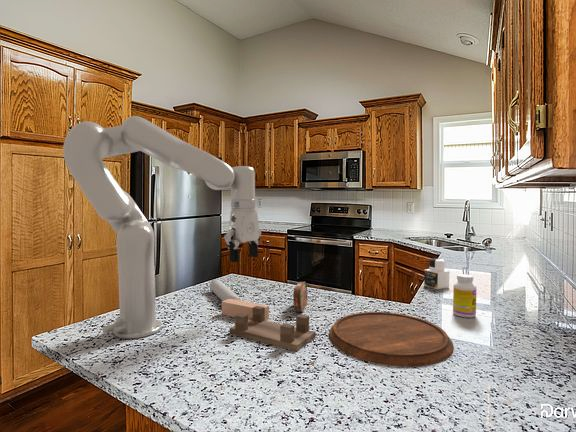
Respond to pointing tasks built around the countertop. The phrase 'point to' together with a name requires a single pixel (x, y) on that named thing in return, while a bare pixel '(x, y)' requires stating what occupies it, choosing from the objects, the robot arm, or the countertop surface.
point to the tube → (222, 290)
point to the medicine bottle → (436, 274)
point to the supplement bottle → (464, 296)
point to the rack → (273, 330)
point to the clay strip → (241, 308)
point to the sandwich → (300, 296)
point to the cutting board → (391, 339)
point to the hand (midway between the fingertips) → (244, 259)
